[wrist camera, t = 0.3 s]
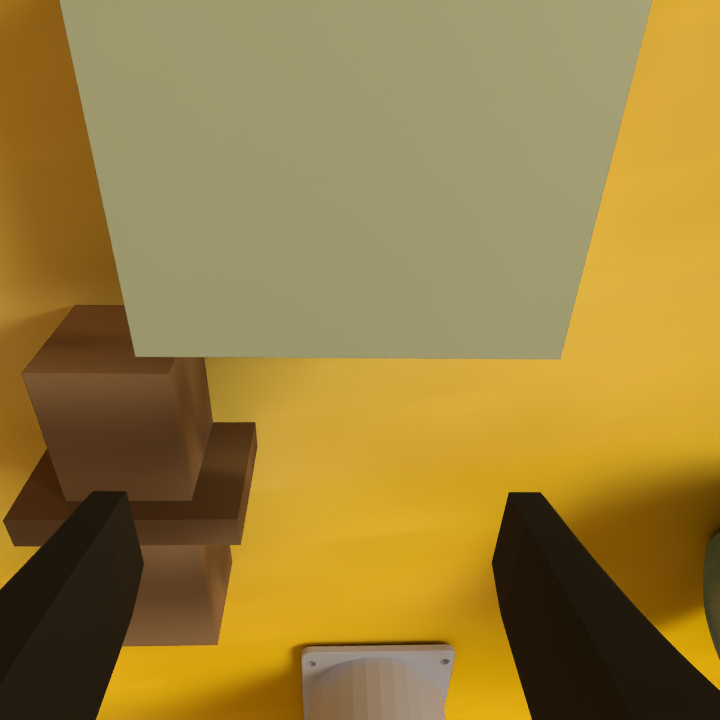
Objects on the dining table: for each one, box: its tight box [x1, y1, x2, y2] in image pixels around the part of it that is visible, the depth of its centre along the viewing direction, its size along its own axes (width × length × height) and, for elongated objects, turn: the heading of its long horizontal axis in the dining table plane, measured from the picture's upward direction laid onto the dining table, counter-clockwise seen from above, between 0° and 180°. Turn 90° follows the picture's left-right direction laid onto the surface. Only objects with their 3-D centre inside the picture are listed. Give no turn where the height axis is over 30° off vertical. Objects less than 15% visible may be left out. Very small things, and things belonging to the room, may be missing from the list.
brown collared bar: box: [3, 305, 257, 646], centre depth 21 cm, size 13×7×5 cm, turn 178°
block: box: [59, 0, 652, 359], centre depth 14 cm, size 8×10×6 cm
